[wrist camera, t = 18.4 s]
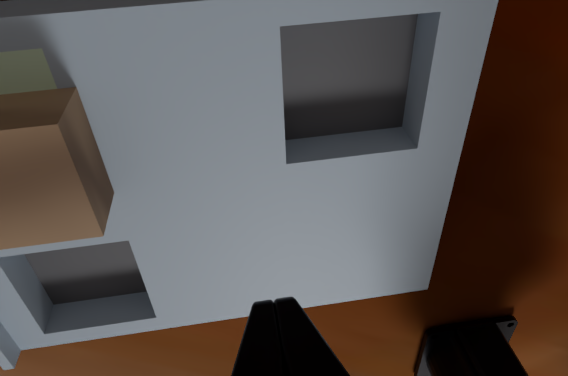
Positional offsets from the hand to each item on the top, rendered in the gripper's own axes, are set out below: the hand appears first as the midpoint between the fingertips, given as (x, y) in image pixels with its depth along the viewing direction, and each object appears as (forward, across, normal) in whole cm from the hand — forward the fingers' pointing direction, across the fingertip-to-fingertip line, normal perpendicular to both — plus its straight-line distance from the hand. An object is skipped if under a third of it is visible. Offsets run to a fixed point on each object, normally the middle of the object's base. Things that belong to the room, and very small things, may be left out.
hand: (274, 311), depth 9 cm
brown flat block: (+9, +8, +1) cm, 12 cm away
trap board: (+11, +2, +4) cm, 12 cm away
